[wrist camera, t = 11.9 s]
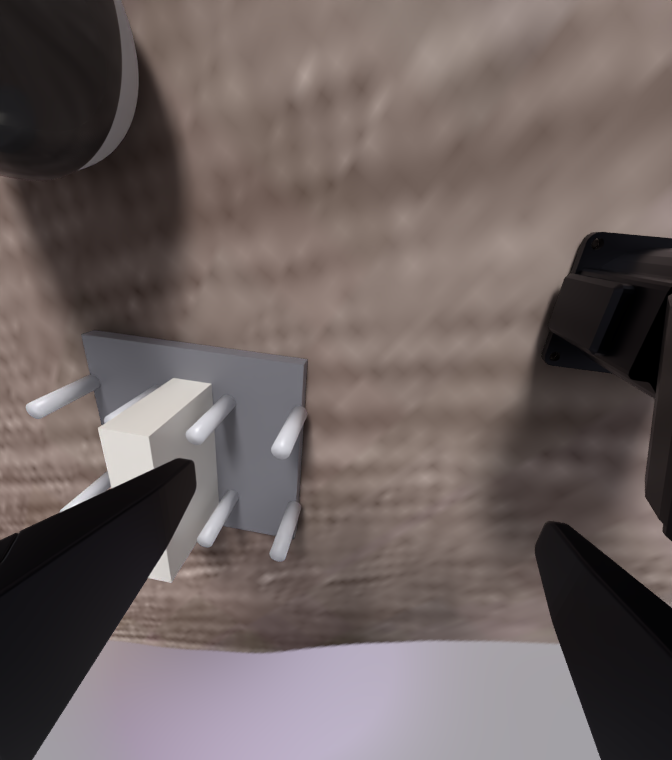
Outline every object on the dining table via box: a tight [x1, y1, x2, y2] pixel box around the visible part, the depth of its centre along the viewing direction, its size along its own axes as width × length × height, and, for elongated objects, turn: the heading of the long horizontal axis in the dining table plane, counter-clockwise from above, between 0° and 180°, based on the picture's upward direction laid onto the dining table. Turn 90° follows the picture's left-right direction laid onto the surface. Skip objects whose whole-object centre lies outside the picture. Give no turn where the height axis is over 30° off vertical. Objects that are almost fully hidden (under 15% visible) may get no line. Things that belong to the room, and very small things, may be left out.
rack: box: [26, 330, 308, 562], centre depth 21 cm, size 15×14×5 cm
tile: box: [98, 378, 219, 583], centre depth 20 cm, size 2×10×6 cm, turn 174°
